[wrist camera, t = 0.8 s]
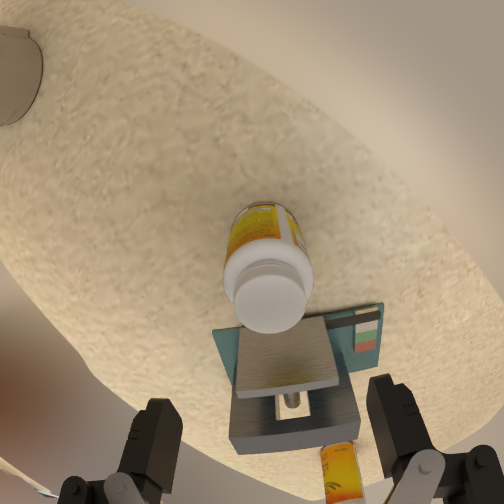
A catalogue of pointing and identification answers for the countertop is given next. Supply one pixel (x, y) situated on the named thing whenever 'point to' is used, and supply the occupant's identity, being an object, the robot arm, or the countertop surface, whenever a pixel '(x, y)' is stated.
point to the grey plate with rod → (290, 358)
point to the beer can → (342, 474)
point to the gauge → (319, 400)
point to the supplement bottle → (267, 269)
